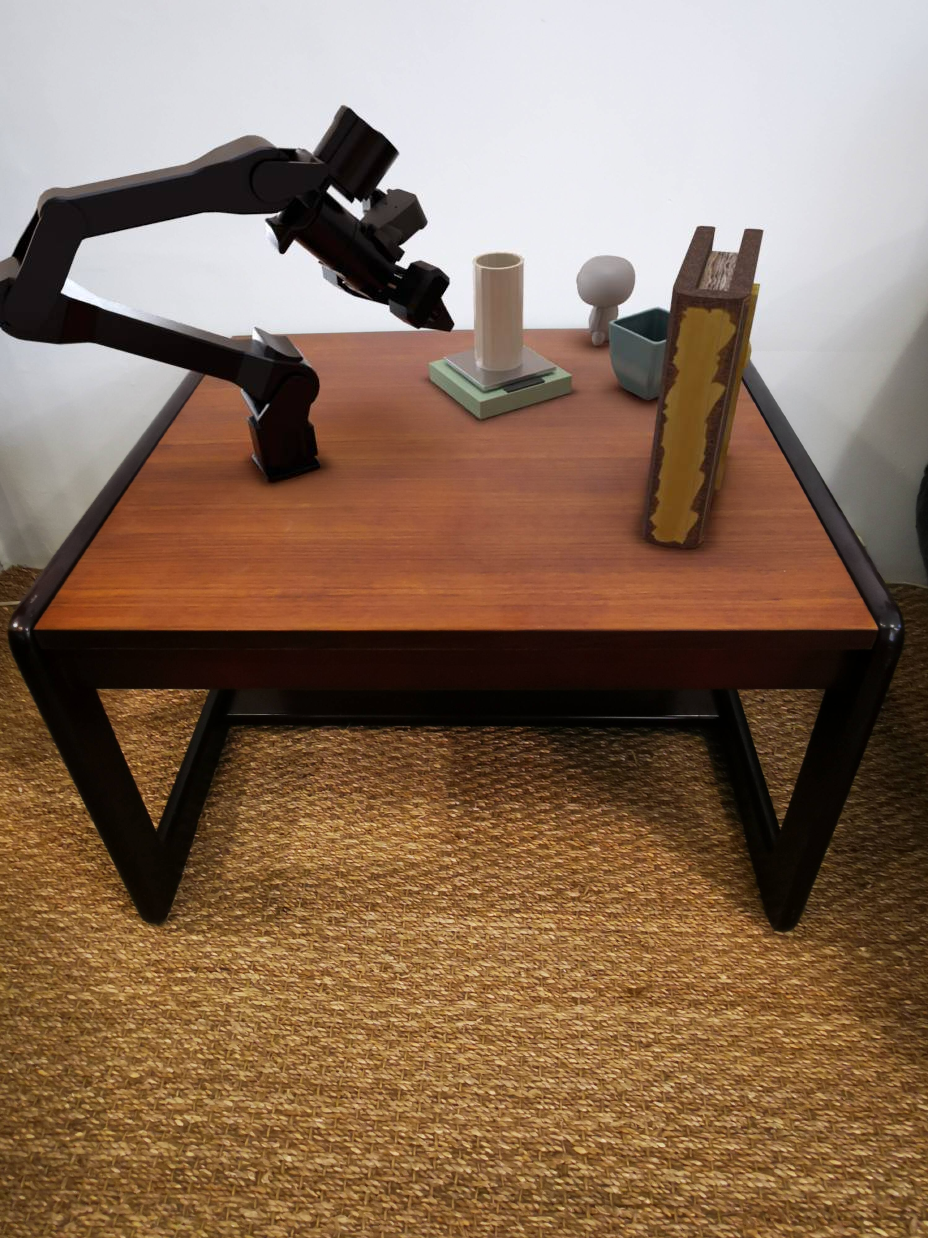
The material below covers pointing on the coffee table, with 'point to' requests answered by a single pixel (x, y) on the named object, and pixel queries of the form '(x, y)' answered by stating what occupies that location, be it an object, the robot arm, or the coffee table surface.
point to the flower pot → (639, 350)
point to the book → (699, 385)
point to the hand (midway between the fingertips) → (428, 316)
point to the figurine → (604, 291)
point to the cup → (498, 310)
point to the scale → (499, 390)
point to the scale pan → (493, 379)
